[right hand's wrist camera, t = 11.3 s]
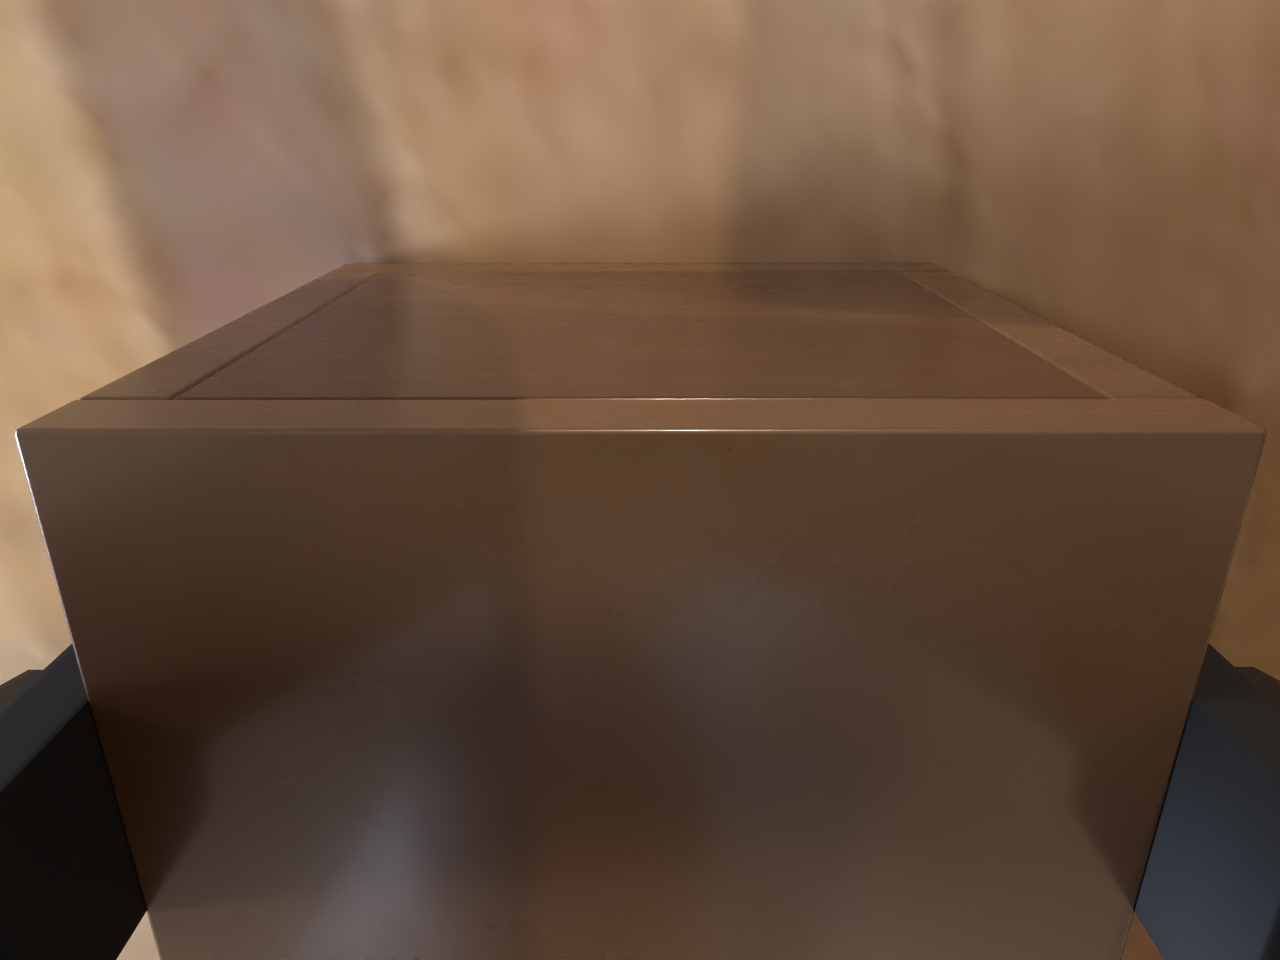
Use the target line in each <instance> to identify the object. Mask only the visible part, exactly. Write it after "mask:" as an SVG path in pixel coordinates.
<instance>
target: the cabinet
mask: <svg viewBox="0 0 1280 960" xmlns="http://www.w3.org/2000/svg"><path fill="white" fill-rule="evenodd" d="M14 436H15V439H16V443H17V446H18V450H19V453H20V457H21V461H22V464H23V468H24V471H25V475H26V479H27V482H28V486H29V489H30V493H31V497H32V500H33V504H34V507H35V511H36V515H37V518H38V522H39V525H40V529H41V533H42V536H43V540H44V543H45V547H46V551H47V554H48V558H49V561H50V565H51V568H52V572H53V576H54V579H55V583H56V586H57V590H58V594H59V597H60V601H61V604H62V608H63V612H64V615H65V619H66V622H67V626H68V630H69V633H70V637H71V640H72V644H73V648H74V651H75V655H76V658H77V662H78V666H79V669H80V673H81V676H82V680H83V684H84V687H85V691H86V694H87V698H88V701H89V705H90V709H91V712H92V716H93V719H94V723H95V727H96V730H97V734H98V737H99V741H100V745H101V748H102V752H103V755H104V759H105V763H106V766H107V770H108V773H109V777H110V781H111V784H112V788H113V791H114V795H115V799H116V802H117V806H118V809H119V813H120V817H121V820H122V824H123V827H124V831H125V834H126V838H127V842H128V845H129V849H130V852H131V856H132V860H133V863H134V867H135V870H136V874H137V878H138V881H139V885H140V888H141V892H142V896H143V899H144V903H145V906H146V910H147V914H148V917H149V921H150V924H151V928H152V932H153V935H154V939H155V942H156V946H157V950H158V953H159V957H160V960H1121V956H1122V953H1123V949H1124V946H1125V942H1126V938H1127V935H1128V931H1129V928H1130V924H1131V920H1132V917H1133V913H1134V909H1135V905H1136V902H1137V898H1138V895H1139V891H1140V887H1141V884H1142V880H1143V877H1144V873H1145V869H1146V866H1147V862H1148V859H1149V855H1150V851H1151V848H1152V844H1153V841H1154V837H1155V833H1156V830H1157V826H1158V823H1159V819H1160V815H1161V812H1162V808H1163V805H1164V801H1165V797H1166V794H1167V790H1168V786H1169V783H1170V779H1171V776H1172V772H1173V768H1174V765H1175V761H1176V758H1177V754H1178V750H1179V747H1180V743H1181V740H1182V736H1183V732H1184V729H1185V725H1186V722H1187V718H1188V714H1189V711H1190V707H1191V704H1192V700H1193V697H1194V693H1195V690H1196V686H1197V682H1198V679H1199V675H1200V671H1201V668H1202V664H1203V661H1204V657H1205V653H1206V650H1207V646H1208V643H1209V639H1210V635H1211V632H1212V628H1213V625H1214V621H1215V617H1216V614H1217V610H1218V607H1219V603H1220V599H1221V596H1222V592H1223V589H1224V585H1225V581H1226V578H1227V574H1228V570H1229V567H1230V563H1231V560H1232V556H1233V552H1234V549H1235V545H1236V542H1237V538H1238V534H1239V531H1240V527H1241V524H1242V520H1243V516H1244V513H1245V509H1246V506H1247V502H1248V498H1249V495H1250V491H1251V488H1252V484H1253V480H1254V477H1255V473H1256V469H1257V466H1258V462H1259V459H1260V455H1261V451H1262V448H1263V444H1264V441H1265V437H1266V430H1265V429H1264V428H1262V427H1260V426H1258V425H1256V424H1254V423H1252V422H1250V421H1248V420H1246V419H1244V418H1242V417H1240V416H1238V415H1236V414H1234V413H1232V412H1230V411H1228V410H1226V409H1224V408H1222V407H1220V406H1218V405H1216V404H1214V403H1212V402H1210V401H1208V400H1206V399H1200V398H1199V397H1197V396H1195V395H1193V394H1191V393H1189V392H1187V391H1185V390H1183V389H1181V388H1179V387H1177V386H1175V385H1173V384H1171V383H1169V382H1167V381H1165V380H1163V379H1161V378H1159V377H1157V376H1155V375H1153V374H1151V373H1149V372H1147V371H1145V370H1143V369H1141V368H1139V367H1137V366H1135V365H1133V364H1131V363H1129V362H1127V361H1125V360H1124V359H1122V358H1120V357H1118V356H1116V355H1114V354H1112V353H1110V352H1108V351H1106V350H1104V349H1102V348H1100V347H1098V346H1096V345H1094V344H1092V343H1090V342H1088V341H1086V340H1084V339H1082V338H1080V337H1078V336H1076V335H1074V334H1072V333H1070V332H1068V331H1066V330H1064V329H1062V328H1060V327H1058V326H1056V325H1054V324H1052V323H1050V322H1048V321H1046V320H1044V319H1042V318H1040V317H1038V316H1036V315H1034V314H1032V313H1030V312H1028V311H1026V310H1024V309H1022V308H1020V307H1018V306H1016V305H1014V304H1012V303H1010V302H1008V301H1006V300H1004V299H1002V298H1000V297H998V296H996V295H994V294H992V293H990V292H988V291H986V290H984V289H982V288H980V287H978V286H976V285H974V284H972V283H970V282H968V281H966V280H964V279H962V278H960V277H958V276H956V275H954V274H952V273H950V272H949V271H947V270H945V269H943V268H941V267H939V266H937V265H935V264H345V265H343V266H341V267H339V268H337V269H335V270H333V271H331V272H330V273H327V274H325V275H323V276H321V277H319V278H317V279H315V280H313V281H312V282H310V283H308V284H306V285H304V286H302V287H300V288H298V289H296V290H294V291H292V292H290V293H288V294H286V295H284V296H282V297H280V298H278V299H276V300H274V301H272V302H270V303H268V304H266V305H264V306H262V307H260V308H258V309H256V310H254V311H252V312H250V313H248V314H246V315H244V316H242V317H240V318H238V319H236V320H234V321H232V322H230V323H228V324H226V325H224V326H222V327H220V328H218V329H216V330H214V331H213V332H211V333H209V334H207V335H205V336H203V337H201V338H199V339H197V340H195V341H193V342H191V343H189V344H187V345H185V346H183V347H181V348H179V349H177V350H175V351H173V352H171V353H169V354H167V355H165V356H163V357H161V358H159V359H157V360H155V361H153V362H151V363H149V364H147V365H145V366H143V367H141V368H139V369H137V370H135V371H133V372H131V373H129V374H127V375H125V376H123V377H121V378H119V379H117V380H115V381H113V382H112V383H110V384H108V385H106V386H104V387H102V388H100V389H98V390H96V391H94V392H92V393H90V394H88V395H86V396H84V397H82V398H80V399H79V400H75V401H72V402H70V403H68V404H66V405H64V406H62V407H60V408H58V409H56V410H54V411H52V412H50V413H48V414H46V415H44V416H42V417H40V418H38V419H37V420H35V421H33V422H31V423H29V424H27V425H25V426H23V427H21V428H19V429H17V430H16V431H15V435H14Z"/></svg>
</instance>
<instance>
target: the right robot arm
mask: <svg viewBox="0 0 1280 960" xmlns="http://www.w3.org/2000/svg"><path fill="white" fill-rule="evenodd" d="M146 911H147V910H146V906H145V903H144V899H143V896H142V892H141V888H140V885H139V881H138V878H137V874H136V870H135V867H134V863H133V860H132V856H131V852H130V849H129V845H128V842H127V838H126V834H125V831H124V827H123V824H122V820H121V817H120V813H119V809H118V806H117V802H116V799H115V795H114V791H113V788H112V784H111V781H110V777H109V773H108V770H107V766H106V763H105V759H104V755H103V752H102V748H101V745H100V741H99V737H98V734H97V730H96V727H95V723H94V719H93V716H92V712H91V709H90V705H89V701H88V698H87V694H86V691H85V687H84V684H83V680H82V676H81V673H80V669H79V666H78V662H77V658H76V655H75V651H74V648H73V644H71V645H70V646H69V647H68V648H67V649H66V650H65V651H64V652H62V653H61V654H60V655H59V656H58V657H57V658H56V659H55V660H54V661H53V662H52V663H51V664H49V665H48V666H47V667H46V668H45V669H44V670H27V671H25V672H24V673H22V674H20V675H18V676H16V677H15V678H13V679H11V680H9V681H7V682H6V683H4V684H2V685H0V960H116V959H117V957H118V956H119V954H120V953H121V951H122V949H123V948H124V946H125V945H126V943H127V941H128V940H129V938H130V937H131V935H132V933H133V932H134V930H135V929H136V927H137V925H138V924H139V922H140V921H141V919H142V917H143V916H144V914H145V912H146ZM1134 911H1135V913H1136V914H1137V916H1138V917H1139V919H1140V921H1141V922H1142V924H1143V925H1144V927H1145V929H1146V930H1147V932H1148V933H1149V935H1150V937H1151V938H1152V940H1153V942H1154V943H1155V945H1156V946H1157V948H1158V950H1159V951H1160V953H1161V954H1162V956H1163V958H1164V959H1165V960H1280V681H1278V680H1276V679H1274V678H1273V677H1271V676H1269V675H1267V674H1265V673H1263V672H1262V671H1260V670H1258V669H1256V668H1254V667H1234V666H1233V665H1232V664H1230V663H1229V662H1228V661H1227V660H1226V659H1225V658H1224V657H1223V656H1222V655H1221V654H1220V653H1219V652H1217V651H1216V650H1215V649H1214V648H1213V647H1212V646H1211V645H1210V644H1209V643H1208V646H1207V650H1206V653H1205V657H1204V661H1203V664H1202V668H1201V671H1200V675H1199V679H1198V682H1197V686H1196V690H1195V693H1194V697H1193V700H1192V704H1191V707H1190V711H1189V714H1188V718H1187V722H1186V725H1185V729H1184V732H1183V736H1182V740H1181V743H1180V747H1179V750H1178V754H1177V758H1176V761H1175V765H1174V768H1173V772H1172V776H1171V779H1170V783H1169V786H1168V790H1167V794H1166V797H1165V801H1164V805H1163V808H1162V812H1161V815H1160V819H1159V823H1158V826H1157V830H1156V833H1155V837H1154V841H1153V844H1152V848H1151V851H1150V855H1149V859H1148V862H1147V866H1146V869H1145V873H1144V877H1143V880H1142V884H1141V887H1140V891H1139V895H1138V898H1137V902H1136V905H1135V909H1134Z"/></svg>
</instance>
